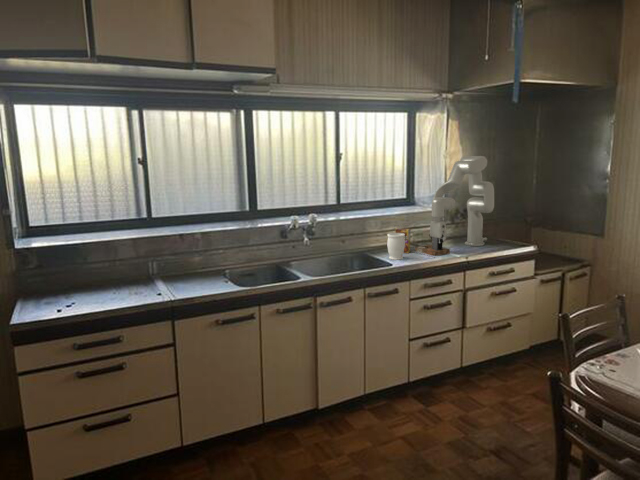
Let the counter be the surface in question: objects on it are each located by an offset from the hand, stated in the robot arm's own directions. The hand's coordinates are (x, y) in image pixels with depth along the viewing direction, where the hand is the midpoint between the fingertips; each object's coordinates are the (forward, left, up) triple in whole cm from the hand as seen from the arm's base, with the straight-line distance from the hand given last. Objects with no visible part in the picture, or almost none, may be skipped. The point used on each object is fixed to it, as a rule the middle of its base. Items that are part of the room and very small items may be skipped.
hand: (437, 248), depth 299 cm
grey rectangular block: (0, 0, -3) cm, 3 cm away
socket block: (0, -4, -4) cm, 6 cm away
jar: (+26, -7, -5) cm, 28 cm away
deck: (-12, -8, -4) cm, 15 cm away
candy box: (+12, -18, -5) cm, 23 cm away
